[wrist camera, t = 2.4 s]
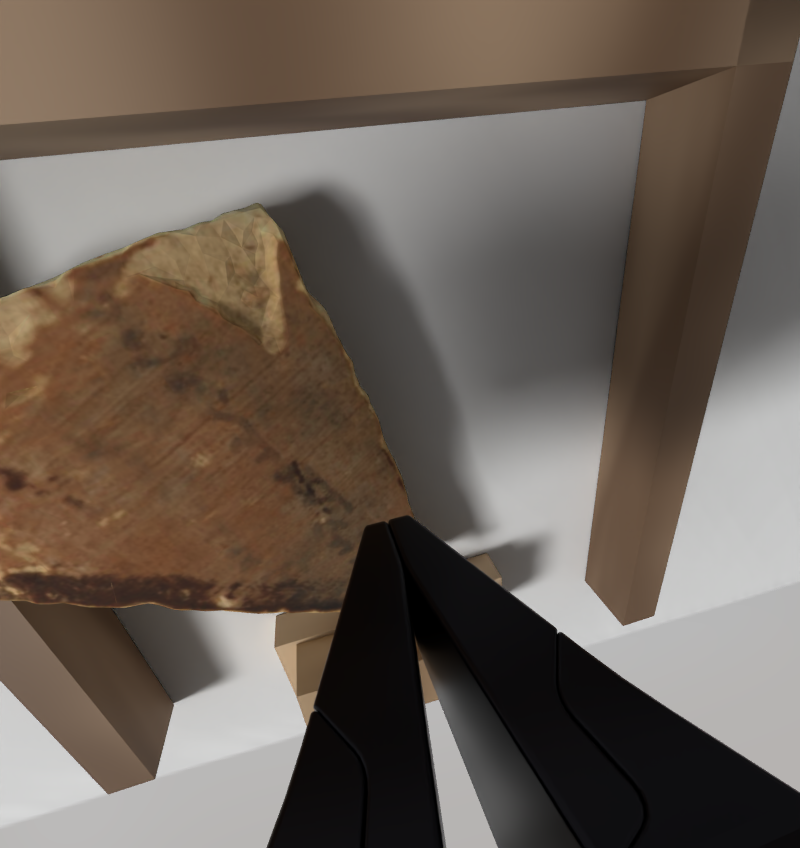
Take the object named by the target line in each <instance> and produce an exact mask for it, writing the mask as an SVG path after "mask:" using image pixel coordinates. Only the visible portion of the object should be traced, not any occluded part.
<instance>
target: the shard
mask: <svg viewBox="0 0 800 848" xmlns="http://www.w3.org/2000/svg"><path fill="white" fill-rule="evenodd" d="M405 515H409V516H411V517H412V518H414V515H413V513H412V511H411V507H410V505H409V503H408V498H407V492H406V489H405V486H404V482H403V479H402V476H401V474H400V472H399V470H398V467H397V465H396V463H395V460H394V458H393V457H392V455H391V453H390V452H389V449H388V447H387V445H386V442H385V440H384V438H383V434H382V430H381V426H380V423H379V419H378V417H377V415H376V413H375V411H374V409H373V407H372V406H371V404H370V400H369V397H368V395H367V394H366V393H365V391H364V390H363V389H362V388H361V387H360V385H359V382H358V379H357V377H356V375H355V371H354V366H353V362H352V360H351V359H350V358H349V356H348V355H347V353H346V352H345V350H344V348H343V346H342V344H341V341H340V340H339V338H338V336H337V334H336V332H335V329H334V327H333V324H332V322H331V320H330V318H329V316H328V314H327V312H326V310H325V309H324V307H323V306H322V305H321V304H320V303H319V302H318V301H317V300H316V299H314V298H313V297H312V296H311V295H310V294H309V293H308V291H307V290H306V287H305V285H304V283H303V280H302V278H301V275H300V272H299V270H298V267H297V265H296V262H295V260H294V257H293V255H292V252H291V250H290V247H289V245H288V242H287V240H286V237H285V234H284V232H283V231H282V230H281V228H280V227H279V226H278V225H277V224H276V223H275V222H274V220H273V219H272V218H271V217H270V216H269V215H268V214H267V212H266V211H265V209H264V208H263V206H262V205H261V204H259V203H255V204H253V205H250V206H248V207H246V208H242V209H238V210H234V211H231V212H227V213H223V214H221V215H220V216H218V217H217V218H215V219H214V220H213V221H207V222H201V223H198V224H195V225H193V226H191V227H188V228H186V229H182V230H176V231H169V232H162V233H157V234H154V235H152V236H149V237H147V238H145V239H142V240H140V241H137V242H135V243H133V244H131V245H129V246H127V247H125V248H122V249H119V250H116V251H113V252H110V253H107V254H104V255H101V256H99V257H96V258H94V259H91V260H89V261H86V262H84V263H82V264H80V265H78V266H76V267H74V268H72V269H70V270H68V271H66V272H64V273H63V274H61V275H59V276H57V277H54V278H52V279H50V280H47V281H45V282H42V283H39V284H36V285H34V286H31V287H29V288H24V289H22V290H19V291H17V292H15V293H13V294H10V295H8V296H5V297H2V298H0V600H3V601H28V602H31V603H35V604H58V603H66V604H72V605H78V606H84V607H104V608H126V607H131V606H136V605H142V604H147V603H151V604H156V605H160V606H164V607H167V608H170V609H174V610H198V611H218V610H224V611H234V612H244V613H257V614H261V613H278V612H287V613H303V612H307V613H331V612H340V611H341V607H342V604H343V600H344V597H345V593H346V590H347V587H348V583H349V580H350V576H351V573H352V569H353V566H354V562H355V559H356V555H357V552H358V548H359V545H360V541H361V538H362V534H363V531H364V528H365V527H366V526H367V525H370V524H374V523H377V522H381V521H385V522H387V523H388V521H389V520H390V519H393V518H397V517H401V516H405ZM414 519H415V518H414Z"/></svg>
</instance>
